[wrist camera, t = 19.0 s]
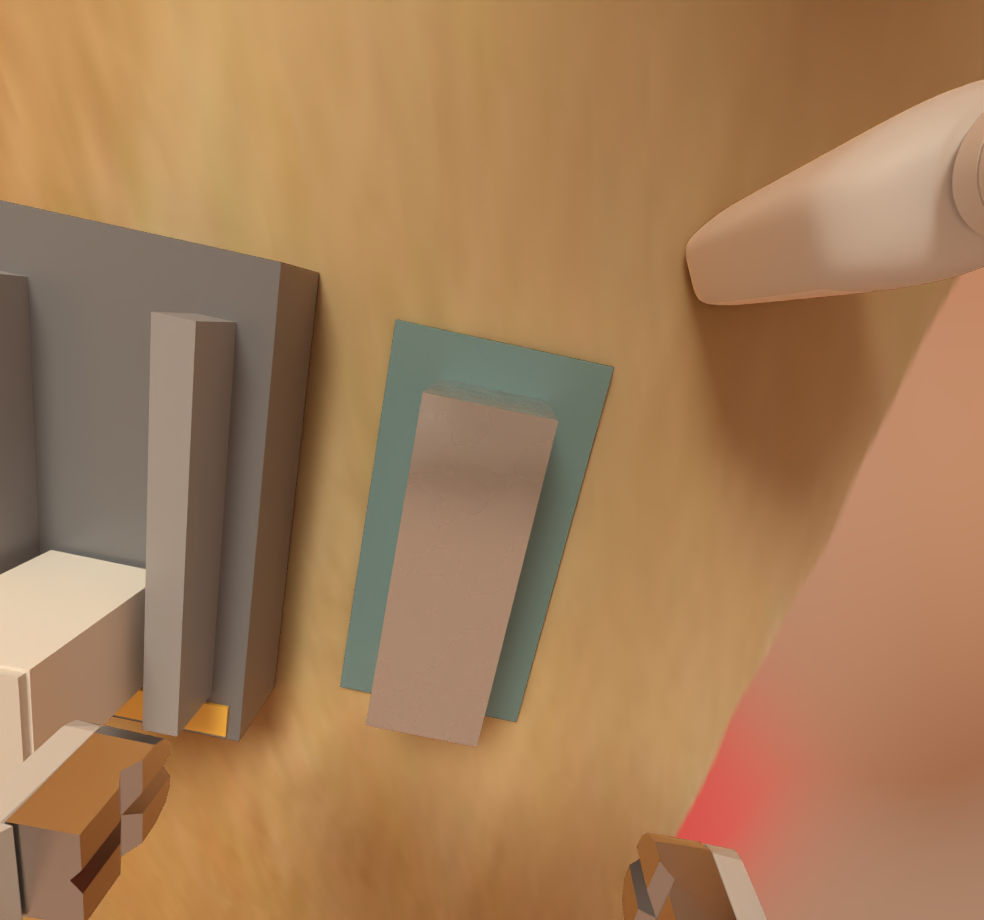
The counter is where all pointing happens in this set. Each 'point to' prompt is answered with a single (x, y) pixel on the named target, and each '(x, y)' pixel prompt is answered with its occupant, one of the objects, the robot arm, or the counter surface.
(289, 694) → the counter surface
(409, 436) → the mat
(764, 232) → the eye dropper bottle
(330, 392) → the counter surface
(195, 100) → the counter surface
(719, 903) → the robot arm
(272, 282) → the switch panel
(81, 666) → the switch tab
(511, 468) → the bar
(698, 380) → the counter surface
